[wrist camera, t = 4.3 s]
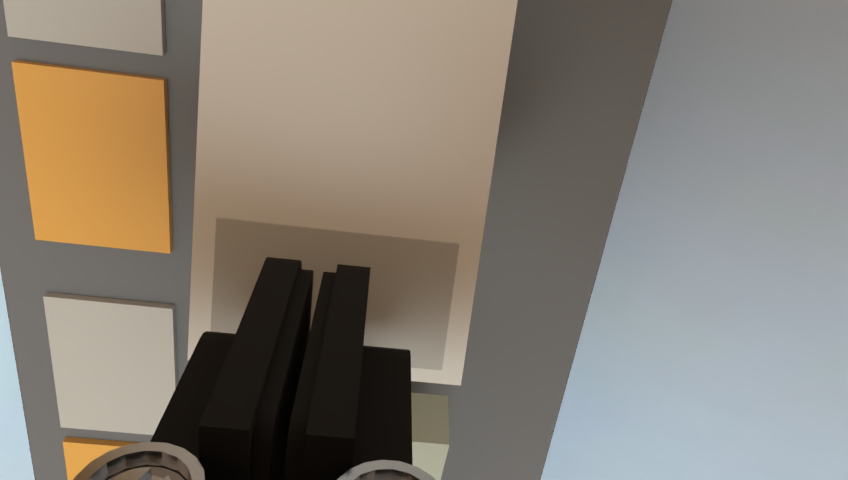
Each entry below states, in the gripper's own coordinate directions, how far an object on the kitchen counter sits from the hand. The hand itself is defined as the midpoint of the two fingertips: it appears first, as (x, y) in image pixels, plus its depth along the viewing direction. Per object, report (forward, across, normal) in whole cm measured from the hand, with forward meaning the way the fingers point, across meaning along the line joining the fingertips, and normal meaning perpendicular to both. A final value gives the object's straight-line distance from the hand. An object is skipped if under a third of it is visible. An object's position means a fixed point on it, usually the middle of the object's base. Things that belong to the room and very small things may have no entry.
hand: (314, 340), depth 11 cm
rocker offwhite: (+2, 0, -3) cm, 4 cm away
